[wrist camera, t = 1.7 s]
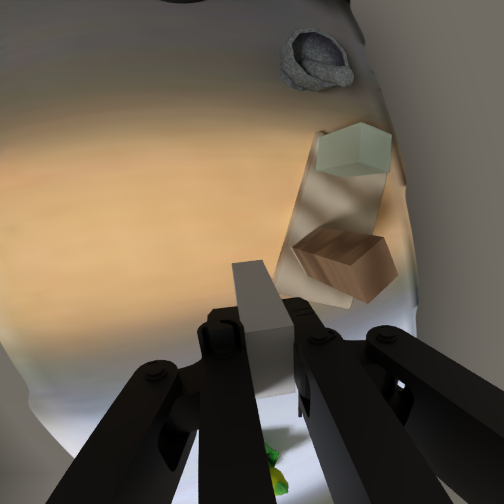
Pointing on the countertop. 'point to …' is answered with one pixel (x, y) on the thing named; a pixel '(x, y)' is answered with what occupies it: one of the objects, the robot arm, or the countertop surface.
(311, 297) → the maple board
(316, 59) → the mortar and pestle
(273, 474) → the fruit basket
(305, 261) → the walnut block
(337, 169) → the sage-green block
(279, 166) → the countertop surface
